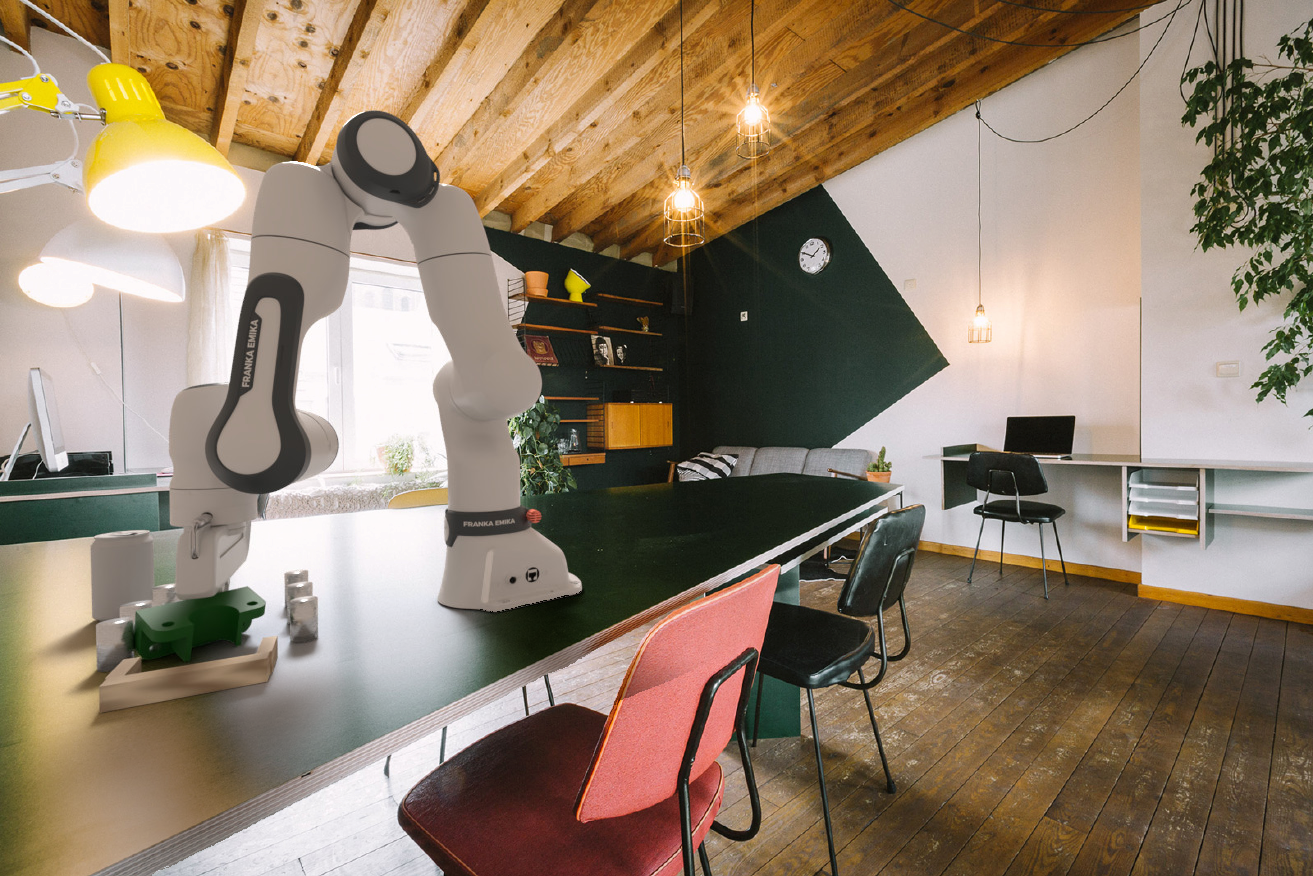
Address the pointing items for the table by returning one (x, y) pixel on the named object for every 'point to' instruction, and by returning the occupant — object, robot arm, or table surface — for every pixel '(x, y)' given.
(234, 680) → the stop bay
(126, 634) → the spacers
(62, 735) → the table surface
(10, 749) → the table surface
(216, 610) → the clamp
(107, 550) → the beverage can
